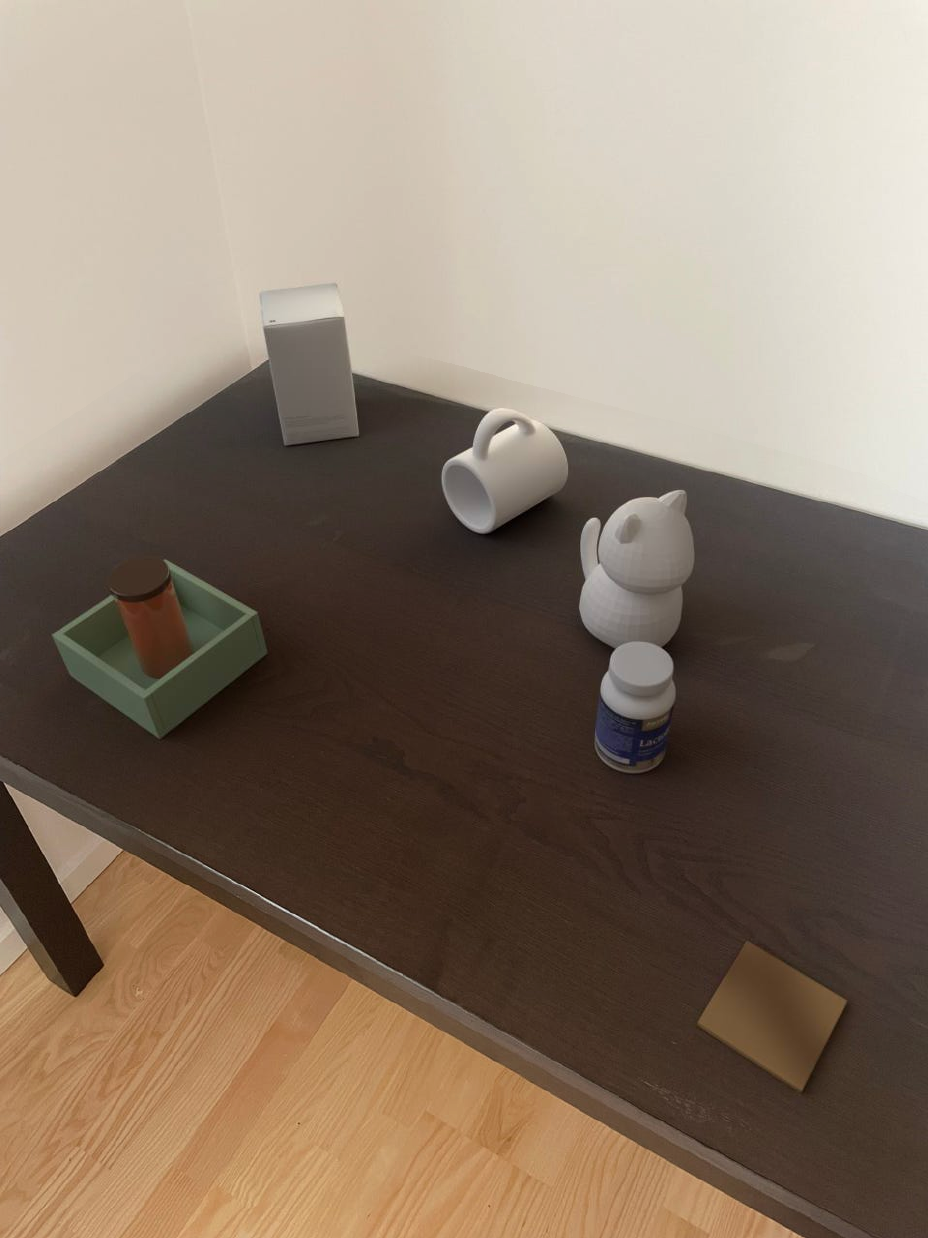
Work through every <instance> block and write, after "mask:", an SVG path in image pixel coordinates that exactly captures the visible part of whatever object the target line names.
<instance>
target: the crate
mask: <svg viewBox="0 0 928 1238" xmlns="http://www.w3.org/2000/svg"><path fill="white" fill-rule="evenodd" d="M162 560H163V561H165V562H166V563H167V565H168V566H169V569H170V572H171V579H172V583H173V586H174V589H175V592H176V595H177V598H178V601H179V604H180V607H181V611H182V614H183V617H184V620H185V623H186V626H187V629H188V632H189V636H190V639H191V642H192V645H193V648H194V651H195V653H194V654H193V655H191V656H190V657H189V658H187V659H186V660H185V661H183V662H182V663H181V664H179V665H178V666H177V667H175V668H174V669H173V670H171V671H170V672H169V673H167V674H166V675H165V676H163V677H162V678H161V679H154V678H151V677H149V676H147V675H146V674H144V673H143V671H142V670H141V667H140V664H139V662H138V659H137V657H136V654H135V651H134V649H133V646H132V643H131V641H130V638H129V636H128V633H127V630H126V628H125V625H124V622H123V620H122V617H121V615H120V612H119V609H118V607H117V604H116V601H115V599H114V596H113V595H112V594H110V595H109V596H108V597H106V598H105V599H103V600H102V601H100V602H99V603H98V604H96V605H94V606H92V607H91V608H90V609H88V610H87V611H85V612H84V613H82V614H81V615H79V616H78V617H76V618H75V619H73V620H72V621H70V622H69V623H67V624H66V625H64V626H63V627H61V628H60V629H59V630H57V631H55V632H54V633H52V634H51V637H52V639H53V641H54V643H55V645H56V648H57V650H58V652H59V654H60V656H61V659H62V662H63V663H64V665H65V667H66V669H67V671H68V674H69V676H70V677H71V678H73V679H74V680H75V681H77V682H78V683H80V684H81V685H82V686H84V687H86V688H87V689H89V690H90V691H91V692H93V693H94V694H95V695H97V696H98V697H100V698H101V699H102V700H104V701H105V702H107V703H108V704H110V705H111V706H112V707H113V708H115V709H116V710H117V711H119V712H121V713H122V714H124V715H125V716H126V717H128V718H129V719H131V720H132V721H133V722H135V723H136V724H137V725H139V726H140V727H141V728H143V729H145V730H146V731H147V732H149V733H150V734H152V736H154V737H156V738H157V739H158V740H161V739H162V738H163V737H165V736H166V735H167V734H168V733H170V732H171V731H173V729H175V728H176V727H177V726H179V724H181V723H183V722H184V721H185V720H186V719H188V717H190V716H191V715H192V714H194V713H195V712H197V710H199V709H200V708H201V707H202V706H204V705H205V704H206V703H207V702H208V701H210V700H211V699H212V698H214V697H215V696H216V695H217V694H219V693H220V692H221V691H222V690H224V689H225V688H226V687H227V686H229V685H230V684H231V683H232V682H234V681H235V680H236V679H238V678H239V677H240V676H242V674H243V673H245V672H246V671H247V670H248V669H250V668H251V667H252V666H253V665H255V664H257V662H259V661H260V660H261V659H263V658H264V657H265V656H266V655H267V654H268V649H267V646H266V641H265V637H264V634H263V633H264V632H263V630H262V629H263V628H262V626H261V621H260V617H259V613H258V611H256V610H255V609H252V608H250V607H249V606H247V605H246V604H244V603H242V602H241V601H239V600H237V599H235V598H234V597H231V596H230V595H229V594H226V593H224V592H223V591H221V590H219V589H217V588H216V587H215V586H212V585H211V584H209V583H207V582H206V581H204V580H202V579H201V578H199V577H197V576H196V575H193V574H191V573H190V572H188V571H186V570H185V569H183V568H182V567H179V566H178V565H176V564H174V563H172V562H171V561H170V560H167V559H166V558H165V559H162Z"/></svg>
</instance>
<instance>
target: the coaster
mask: <svg viewBox="0 0 928 1238" xmlns="http://www.w3.org/2000/svg"><path fill="white" fill-rule="evenodd" d="M847 1003H848V1000H847V999H845V998H844V997H842V996H840V995H839V994H837V993H836V992H833V991H832V990H831V989H828V988H827V987H825V986H823V985H822V984H820V983H818V982H817V981H815V980H814V979H812V978H810V977H809V976H807V975H805V974H804V973H802V972H800V971H799V970H797V969H796V968H794V967H792V966H791V965H789V964H787V963H785V962H784V961H782V960H780V959H779V958H777V957H775V956H773V955H772V954H770V953H769V952H767V951H765V950H764V949H762V948H760V947H759V946H757V945H756V944H753V942H751V941H749V940H746V941H745V942H744V944H743V946H742V948H741V949H740V951H739V952H738V954H737V956H736V958H735V959H734V961H733V963H732V964H731V966H730V968H729V969H728V971H727V972H726V974H725V976H724V977H723V979H722V981H721V982H720V985H719V986H718V987H717V989H716V991H715V993H714V994H713V996H712V997H711V999H710V1000H709V1002H708V1004H707V1006H706V1007H705V1009H704V1010H703V1012H702V1014H701V1016H700V1017H699V1019H698V1021H697V1023H696V1026H698V1028H699V1029H702V1031H705V1032H706V1033H708V1034H709V1035H710V1036H712V1037H714V1038H715V1039H717V1040H718V1041H720V1042H721V1043H723V1044H724V1045H726V1046H727V1047H729V1048H730V1049H732V1050H734V1051H735V1052H736V1053H739V1055H741V1056H742V1057H744V1058H746V1059H747V1060H749V1061H750V1062H751V1063H753V1064H755V1065H756V1066H757V1067H759V1068H760V1069H762V1070H764V1072H766V1073H768V1074H770V1075H771V1076H773V1078H776V1079H777V1080H779V1081H780V1082H782V1083H783V1084H784V1085H786V1086H788V1087H789V1088H791V1089H792V1090H794V1091H795V1092H797V1093H799V1094H802V1093H803V1091H804V1088H805V1087H806V1085H807V1082H808V1081H809V1079H810V1077H811V1074H812V1072H813V1071H814V1069H815V1067H816V1065H817V1063H818V1061H819V1059H820V1057H821V1055H822V1053H823V1051H824V1049H825V1047H826V1045H827V1043H828V1041H829V1040H830V1037H831V1035H832V1033H833V1032H834V1029H835V1027H836V1025H837V1023H838V1021H839V1019H840V1017H841V1015H842V1014H843V1011H844V1010H845V1007H846V1005H847Z"/></svg>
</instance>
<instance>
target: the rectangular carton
mask: <svg viewBox="0 0 928 1238" xmlns="http://www.w3.org/2000/svg"><path fill="white" fill-rule="evenodd" d="M259 302H260V303H259V304H260V311H261V313H260V314H261V322H262V331H263V337H264V341H265V347H266V351H267V358H268V363H269V368H270V369H269V370H270V374H271V379H272V384H273V390H274V396H275V401H276V407H277V411H278V412H277V413H278V418H279V423H280V428H281V435H282V439H283V444H284V446H292V445H301V444H307V443H315V442H322V441H331V440H338V439H346V438H353V437H359V436H360V431H359V421H358V413H357V404H356V395H355V388H354V379H353V369H352V363H351V354H350V347H349V339H348V333H347V323H346V318H345V313H344V309H343V303H342V301H341V295H340V292H339V288H338V284H337V283H336V282H333V283H322V284H315V285H308V286H306V285H305V286H298V287H290V288H289V287H288V288H280V289H271V290H269V289H268V290H264V291H260V292H259Z"/></svg>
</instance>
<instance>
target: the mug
mask: <svg viewBox="0 0 928 1238" xmlns="http://www.w3.org/2000/svg"><path fill="white" fill-rule="evenodd" d="M511 421H512V422H513V423H514V424H513V425H511V426H509V427H507V428H505V429H504V430H501V431H500V432H498V433H496V432H497V431H498V430H499V429H500V428H501V427H502V426H503V425H504V424H506V423H508V422H511ZM568 464H569V463H568V459H567V455H566V453H565V450H564V448H563V445H562V443H561V442H560V440H559V438H558V437H557V436H556V435H555V434H554V432H553V431H552V430H551V429H550V428H549V427H548V426H546V425H545V424H543V423H542V422H540V421H537V420H535V419H530V418H529V417H527V416H526V415H525V414H523V413H522V412H519V411H517V410H515V409H512V408H505V407H500V408H494V409H493V410H490V411H489V412H487V413H486V414H485V415H484V416H483V418H481V421H480V422H479V424H478V426H477V429H476V431H475V434H474V437H473V442H472V447H469V448H467V450H464V451H463V452H461V453H459V454H457V455H455V456H453V457H451V458H450V459H448V460H447V461H446V462H445V464H444V465H443V467H442V470H441V486H442V491H443V494H444V497H445V500H446V501H447V504H448V506H449V508H450V510H451V511H452V512H453V515H454V516H455V517H456V518H457V519H458V520H459V522H460V523H461V524H462V525H463V526H464V527H466V528H467V529H469V530H470V531H472V532H474V533H477V534H481V535H486V534H490V533H491V532H493V531H495V530H496V529H498V528H499V527H501V526H503V525H505V524H507V523H508V522H510V521H511V520H513V519H515V518H516V517H518V516H520V515H521V514H523V513H524V512H526V511H528V510H530V509H531V508H533V507H535V506H536V505H537V504H540V503H541V502H543V501H545V500H546V499H548V498H550V497H551V496H553V495H555V494H556V493H558V492H559V491H561V490H562V489H563V488H564V486H565V485H566V482H567V480H568V477H569V465H568Z"/></svg>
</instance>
